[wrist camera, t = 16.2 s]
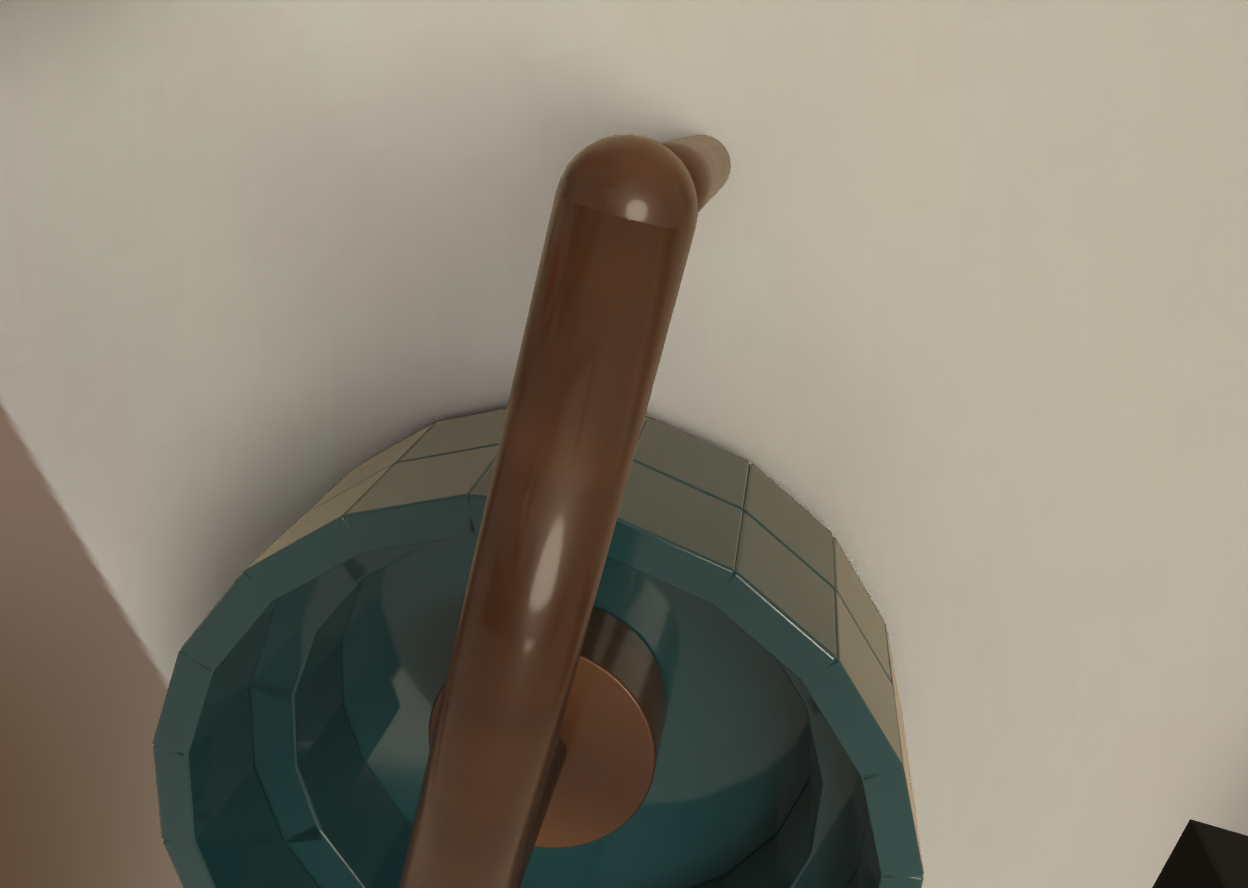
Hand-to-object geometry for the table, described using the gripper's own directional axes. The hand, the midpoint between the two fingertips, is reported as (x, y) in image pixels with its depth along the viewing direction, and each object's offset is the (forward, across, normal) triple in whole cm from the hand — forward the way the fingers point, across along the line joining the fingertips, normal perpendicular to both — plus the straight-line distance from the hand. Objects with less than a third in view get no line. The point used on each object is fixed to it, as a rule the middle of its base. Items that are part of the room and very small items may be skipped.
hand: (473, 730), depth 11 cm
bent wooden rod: (+14, 0, -4) cm, 14 cm away
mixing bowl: (+14, 0, -10) cm, 17 cm away
